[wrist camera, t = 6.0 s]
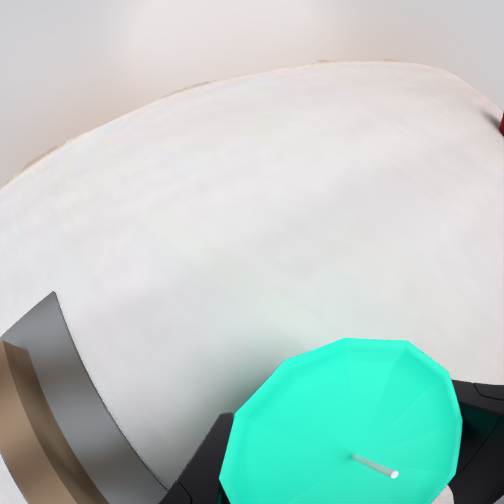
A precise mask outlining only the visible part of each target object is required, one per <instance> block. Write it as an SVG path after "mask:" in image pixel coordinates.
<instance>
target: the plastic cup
mask: <svg viewBox="0 0 504 504" xmlns="http://www.w3.org/2000/svg"><path fill="white" fill-rule="evenodd" d="M499 129H500V132H501V133H502V134H503V136H504V113H503V118H502V121H501V124H500V128H499Z"/></svg>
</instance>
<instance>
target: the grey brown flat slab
mask: <svg viewBox="0 0 504 504" xmlns="http://www.w3.org/2000/svg"><path fill="white" fill-rule="evenodd" d="M0 454H1V456H2V458H3V460H4V462H5V464H6V466H7V468H8V470H9V472H10V474H11V476H12V478H13V479H14V481H15V483H16V485H17V487H18V488H19V490H20V492H21V493H22V495H23V497H24V498H25V500H26V501H27V503H28V504H158V503H159V502H160V501H161V500H162V499H163V497H164V496H165V495H166V494H167V492H168V491H167V490H166V489H165V488H164V487H163V486H162V485H161V484H160V482H159V481H158V480H157V479H156V478H155V476H154V475H153V474H152V473H151V472H150V470H149V469H148V468H147V467H146V465H145V464H144V463H143V461H142V460H141V459H140V458H139V456H138V455H137V454H136V452H135V451H134V449H133V448H132V447H131V445H130V444H129V442H128V441H127V440H126V438H125V437H124V435H123V434H122V432H121V431H120V429H119V428H118V426H117V424H116V423H115V421H114V420H113V418H112V416H111V415H110V413H109V412H108V410H107V408H106V406H105V405H104V403H103V401H102V399H101V398H100V396H99V394H98V392H97V390H96V389H95V387H94V385H93V383H92V381H91V379H90V377H89V375H88V373H87V371H86V369H85V367H84V365H83V363H82V361H81V358H80V356H79V354H78V352H77V349H76V347H75V345H74V342H73V340H72V338H71V335H70V333H69V330H68V328H67V325H66V322H65V320H64V317H63V314H62V311H61V308H60V306H59V303H58V300H57V297H56V293H55V292H54V291H53V292H51V293H50V294H49V295H48V296H46V297H45V298H44V299H43V300H42V301H40V302H39V303H38V304H37V305H36V306H34V307H33V308H32V309H31V310H30V311H29V312H27V313H26V314H25V315H24V316H23V317H22V318H21V319H20V320H18V321H17V322H16V323H15V324H14V325H13V326H12V327H11V328H10V329H9V330H7V331H6V332H5V333H4V334H3V335H2V336H1V337H0Z"/></svg>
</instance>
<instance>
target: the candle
mask: <svg viewBox="0 0 504 504" xmlns="http://www.w3.org/2000/svg"><path fill="white" fill-rule="evenodd" d="M462 421H463V420H462V416H461V412H460V408H459V404H458V401H457V397H456V394H455V390H454V387H453V384H452V381H451V378H450V375H449V372H448V371H447V370H446V369H444V368H443V367H442V366H440V365H439V364H438V363H436V362H435V361H434V360H432V359H431V358H430V357H428V356H427V355H426V354H425V353H423V352H422V351H421V350H419V349H418V348H417V347H415V346H414V345H413V344H411V343H410V342H409V341H406V340H376V339H357V338H343V339H340V340H338V341H335V342H333V343H330V344H328V345H325V346H323V347H320V348H317V349H315V350H312V351H309V352H307V353H304V354H301V355H298V356H295V357H292V358H289V359H287V360H284V362H283V363H282V364H281V365H280V366H279V367H278V368H277V369H276V371H275V372H274V373H273V374H272V375H271V376H270V377H269V378H268V379H267V380H266V381H265V382H264V384H263V385H262V386H261V387H260V388H259V389H258V390H257V391H256V392H255V393H254V394H253V395H252V396H251V397H250V398H249V399H248V400H247V402H246V403H245V404H244V405H243V406H242V407H241V408H240V409H239V410H238V411H237V412H236V413H235V417H234V421H233V425H232V429H231V433H230V437H229V441H228V445H227V449H226V453H225V457H224V461H223V465H222V469H221V472H220V476H219V480H220V482H221V484H222V486H223V489H224V491H225V493H226V495H227V497H228V499H229V501H230V503H231V504H431V503H432V502H433V500H434V499H435V498H436V497H437V496H438V495H439V494H440V493H441V491H442V490H443V489H444V488H445V487H446V485H447V484H448V483H449V482H450V481H451V479H452V478H453V477H454V475H455V473H456V468H457V462H458V456H459V449H460V442H461V433H462Z"/></svg>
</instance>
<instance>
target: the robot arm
mask: <svg viewBox="0 0 504 504" xmlns="http://www.w3.org/2000/svg"><path fill="white" fill-rule="evenodd" d="M451 381H452V384H453V387H454V390H455V394H456V397H457V401H458V404H459V408H460V412H461V416H462V420H463V421H462V433H461V442H460V449H459V456H458V462H457V468H456V473H455V475H454V477H453V478H452V479H451V481H450V482H449V483H448V484H447V485H448V486H449V487H450V489H451V491H452V493H453V499H454V504H504V385H490V384H481V383H471V382H465V381H458V380H452V379H451ZM233 421H234V416H233V414H232V413H231V412H230V413H223V414H220V415H219V417H218V419H217V420H216V422H215V423H214V425H213V427H212V428H211V430H210V431H209V433H208V434H207V436H206V437H205V439H204V441H203V442H202V444H201V445H200V447H199V448H198V450H197V451H196V453H195V454H194V456H193V457H192V459H191V460H190V462H189V463H188V465H187V466H186V468H185V469H184V470H183V472H182V473H181V475H180V476H179V478H178V479H177V481H175V483H174V484H173V486H172V487H171V488H170V490H169V491H168V492H167V494H166V495H165V496H164V497H163V499H162V500H161V501H160V502H159V503H158V504H231V503H230V501H229V499H228V497H227V495H226V493H225V491H224V489H223V486H222V484H221V482H220V480H219V476H220V472H221V469H222V465H223V461H224V457H225V453H226V449H227V445H228V441H229V437H230V433H231V429H232V425H233Z"/></svg>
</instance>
